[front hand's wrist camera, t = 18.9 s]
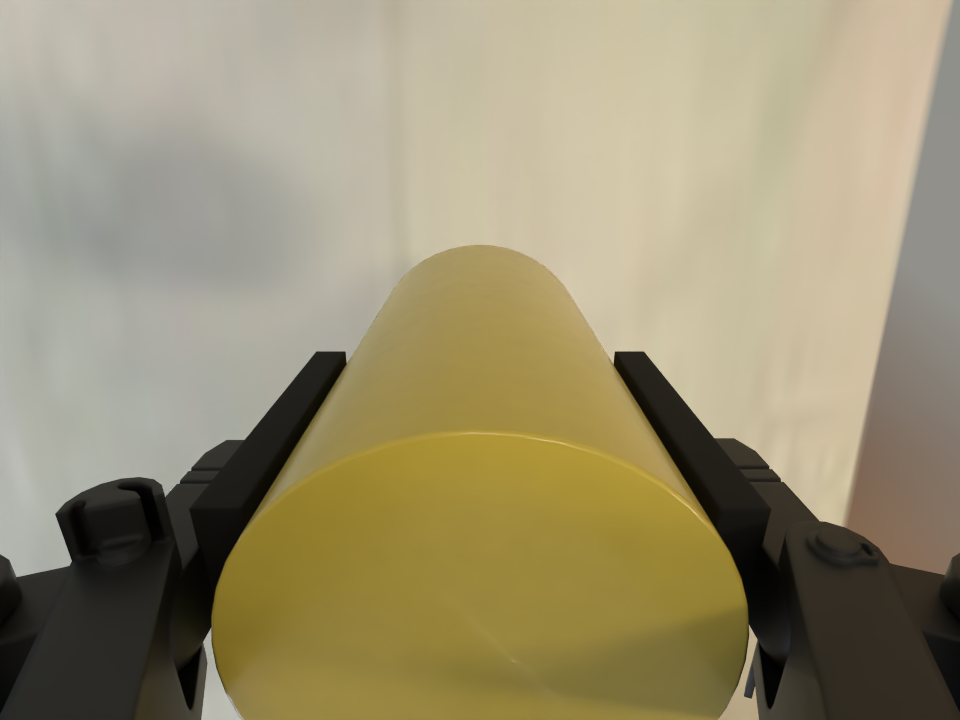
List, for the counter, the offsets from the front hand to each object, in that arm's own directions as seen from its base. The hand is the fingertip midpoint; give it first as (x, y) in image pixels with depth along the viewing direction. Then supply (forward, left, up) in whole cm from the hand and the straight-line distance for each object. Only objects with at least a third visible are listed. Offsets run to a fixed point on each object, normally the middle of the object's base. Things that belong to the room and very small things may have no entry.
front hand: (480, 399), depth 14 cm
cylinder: (0, 0, -4) cm, 4 cm away
